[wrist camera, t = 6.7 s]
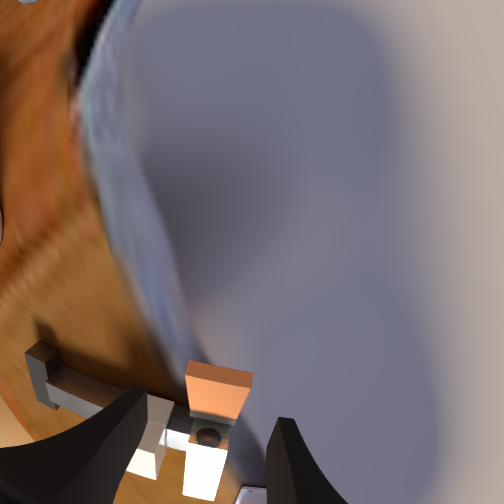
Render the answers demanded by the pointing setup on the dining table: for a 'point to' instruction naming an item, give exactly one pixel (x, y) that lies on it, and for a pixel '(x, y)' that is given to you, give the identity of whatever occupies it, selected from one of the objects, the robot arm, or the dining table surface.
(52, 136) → the dining table surface
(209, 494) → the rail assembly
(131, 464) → the carriage
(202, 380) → the lever
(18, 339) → the dining table surface
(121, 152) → the dining table surface
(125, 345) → the dining table surface
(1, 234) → the coffee cup
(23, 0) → the moka pot
